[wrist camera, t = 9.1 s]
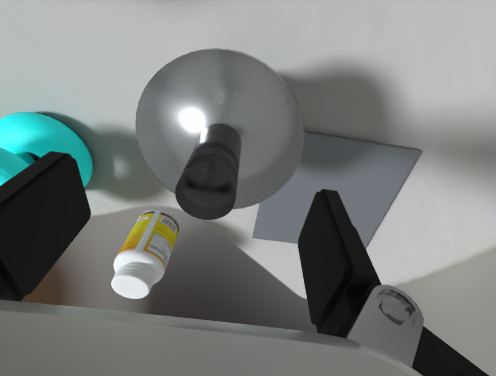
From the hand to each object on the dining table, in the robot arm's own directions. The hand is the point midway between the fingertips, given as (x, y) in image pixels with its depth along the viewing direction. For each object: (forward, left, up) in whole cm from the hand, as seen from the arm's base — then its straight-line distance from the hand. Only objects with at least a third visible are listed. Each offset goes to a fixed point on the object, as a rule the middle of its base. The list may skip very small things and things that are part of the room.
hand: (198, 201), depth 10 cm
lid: (+1, 0, -8) cm, 8 cm away
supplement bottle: (+19, -8, -18) cm, 27 cm away
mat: (+11, +13, -18) cm, 25 cm away
